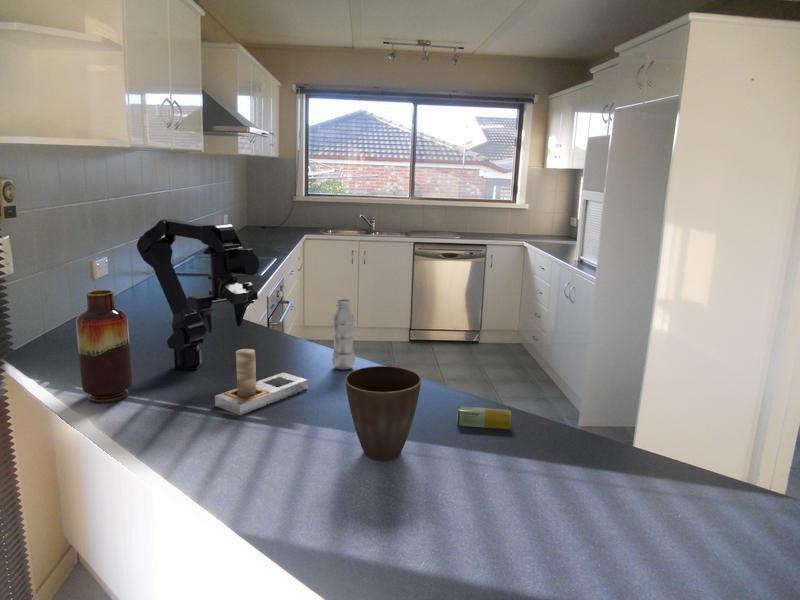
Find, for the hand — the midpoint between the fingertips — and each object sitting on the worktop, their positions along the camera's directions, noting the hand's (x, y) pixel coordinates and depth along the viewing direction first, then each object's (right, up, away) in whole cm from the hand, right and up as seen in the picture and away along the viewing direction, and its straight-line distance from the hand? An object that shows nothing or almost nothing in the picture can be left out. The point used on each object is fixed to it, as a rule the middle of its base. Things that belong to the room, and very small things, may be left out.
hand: (224, 329), depth 161 cm
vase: (-24, -16, -14) cm, 32 cm away
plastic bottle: (+31, -12, +11) cm, 35 cm away
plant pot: (+43, -23, -40) cm, 63 cm away
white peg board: (+13, -16, -12) cm, 24 cm away
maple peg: (+10, -17, -16) cm, 25 cm away
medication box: (+66, -21, -25) cm, 74 cm away
